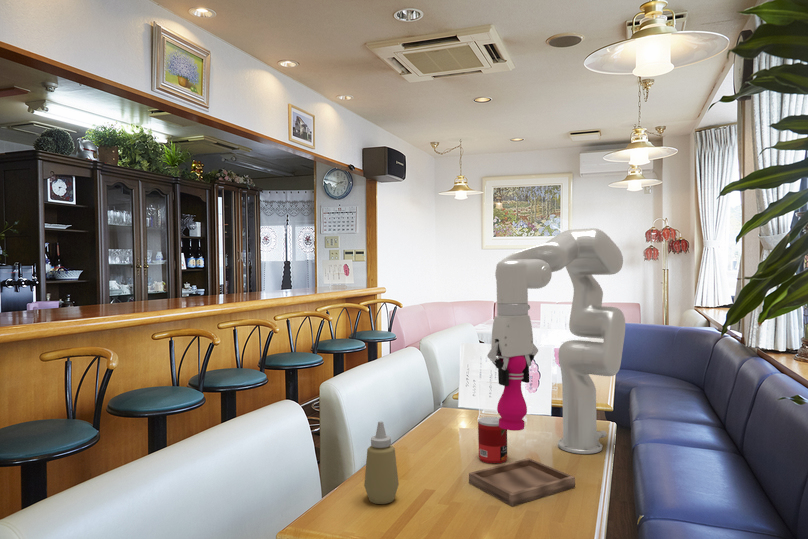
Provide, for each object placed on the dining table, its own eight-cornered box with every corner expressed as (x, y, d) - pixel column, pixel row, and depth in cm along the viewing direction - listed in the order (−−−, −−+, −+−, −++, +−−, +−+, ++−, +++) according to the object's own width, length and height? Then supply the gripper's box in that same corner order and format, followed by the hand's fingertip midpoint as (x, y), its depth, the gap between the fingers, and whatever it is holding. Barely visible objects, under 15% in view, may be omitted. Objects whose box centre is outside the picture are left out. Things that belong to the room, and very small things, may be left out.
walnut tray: (528, 467, 147) (528, 458, 147) (575, 487, 133) (575, 477, 133) (468, 483, 137) (468, 473, 137) (512, 506, 123) (512, 495, 123)
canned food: (507, 465, 149) (506, 424, 149) (477, 463, 151) (477, 423, 151) (507, 455, 157) (507, 417, 157) (479, 454, 158) (478, 415, 158)
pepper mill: (529, 426, 137) (532, 346, 137) (522, 432, 130) (525, 348, 131) (501, 422, 140) (503, 343, 141) (492, 428, 134) (495, 345, 134)
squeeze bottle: (386, 510, 122) (385, 429, 122) (357, 502, 126) (356, 424, 126) (405, 496, 129) (404, 420, 129) (377, 490, 133) (376, 415, 133)
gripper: (528, 307, 143) (530, 376, 143) (475, 311, 135) (476, 385, 135) (549, 309, 136) (550, 381, 137) (494, 313, 128) (496, 391, 128)
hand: (514, 382), depth 136 cm, fingers closed on pepper mill, 5 cm apart
